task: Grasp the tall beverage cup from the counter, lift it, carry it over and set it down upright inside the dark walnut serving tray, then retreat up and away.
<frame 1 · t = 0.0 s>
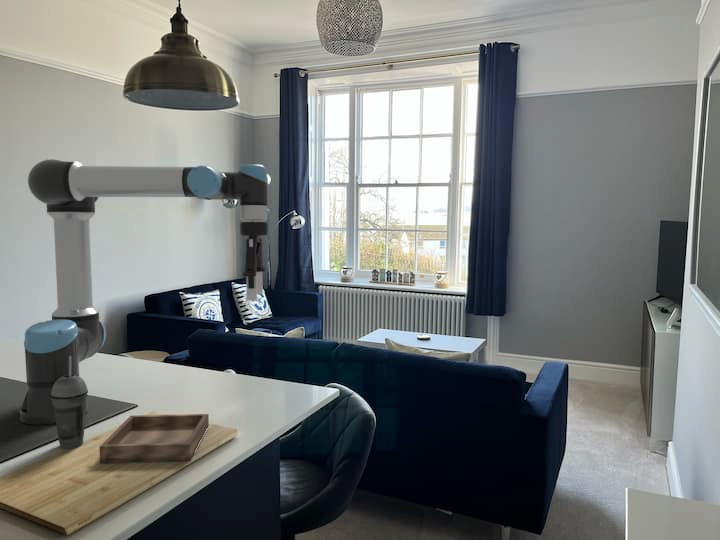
hand: (255, 297, 153), 28 cm above the kitchen island, fingers open, 13 cm apart
beverage cup: (71, 445, 120), on the kitchen island
serving tray: (158, 444, 120), on the kitchen island
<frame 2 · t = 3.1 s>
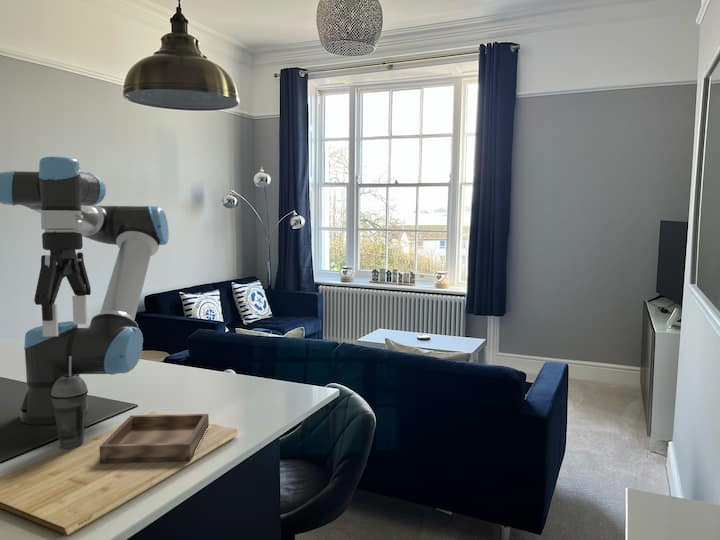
hand: (66, 330, 117), 26 cm above the kitchen island, fingers open, 13 cm apart
nothing on the kitchen island moved.
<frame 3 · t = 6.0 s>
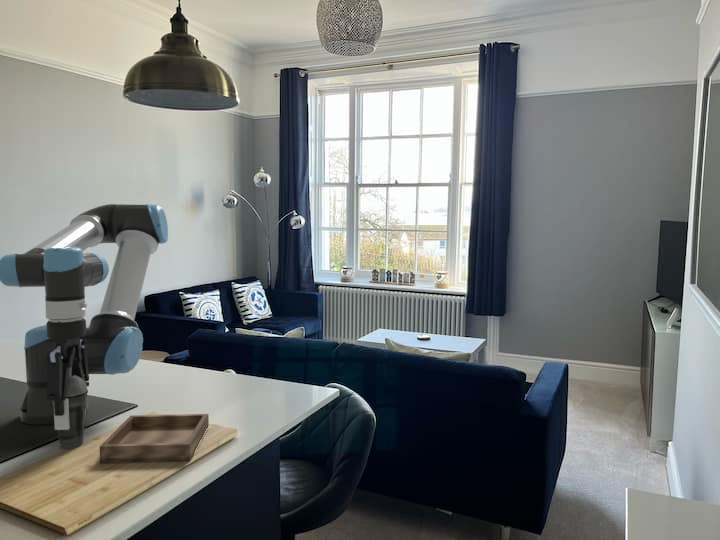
hand: (70, 422, 119), 5 cm above the kitchen island, fingers closed on beverage cup, 7 cm apart
beverage cup: (71, 445, 120), on the kitchen island, touching gripper
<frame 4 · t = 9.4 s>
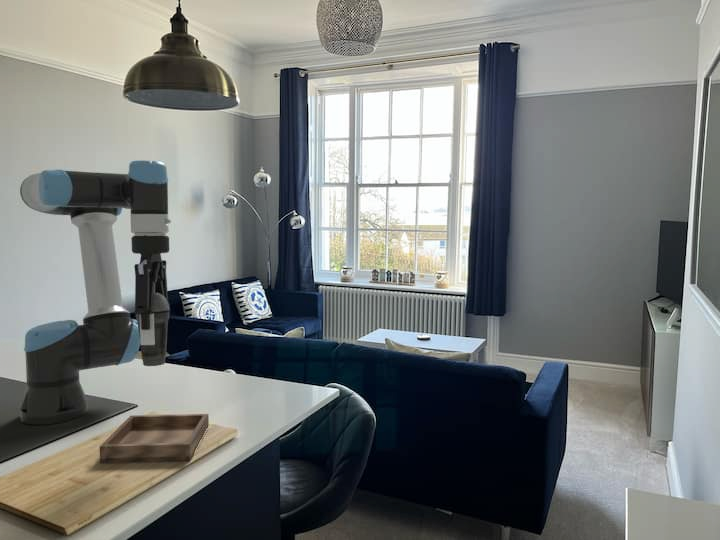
hand: (153, 340, 118), 23 cm above the kitchen island, fingers closed on beverage cup, 7 cm apart
beverage cup: (154, 364, 118), point 18 cm above the kitchen island, touching gripper
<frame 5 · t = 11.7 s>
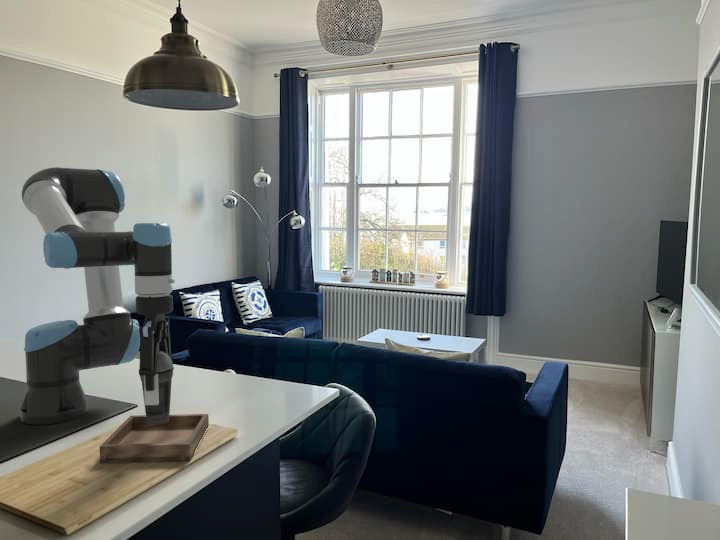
hand: (157, 398, 119), 10 cm above the kitchen island, fingers closed on beverage cup, 7 cm apart
beverage cup: (158, 421, 119), point 5 cm above the kitchen island, touching gripper
when the fingers open (8 cm above the kitchen island, at t = 13.2 s): beverage cup drops 1 cm, resting on serving tray.
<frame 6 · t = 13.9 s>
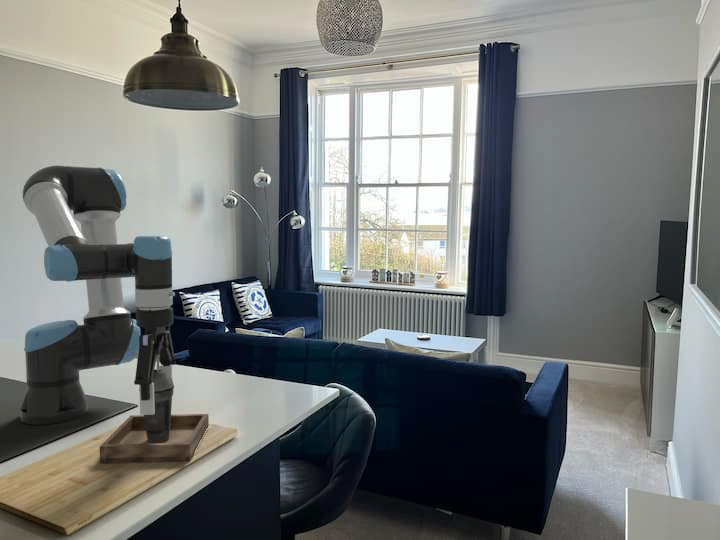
hand: (157, 403, 119), 9 cm above the kitchen island, fingers open, 13 cm apart
beverage cup: (158, 440, 120), point 1 cm above the kitchen island, touching serving tray
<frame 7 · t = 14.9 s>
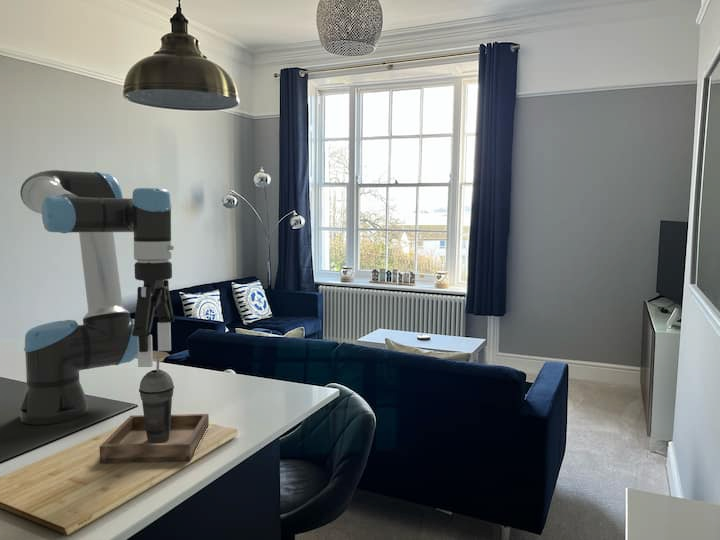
hand: (155, 358, 119), 19 cm above the kitchen island, fingers open, 13 cm apart
nothing on the kitchen island moved.
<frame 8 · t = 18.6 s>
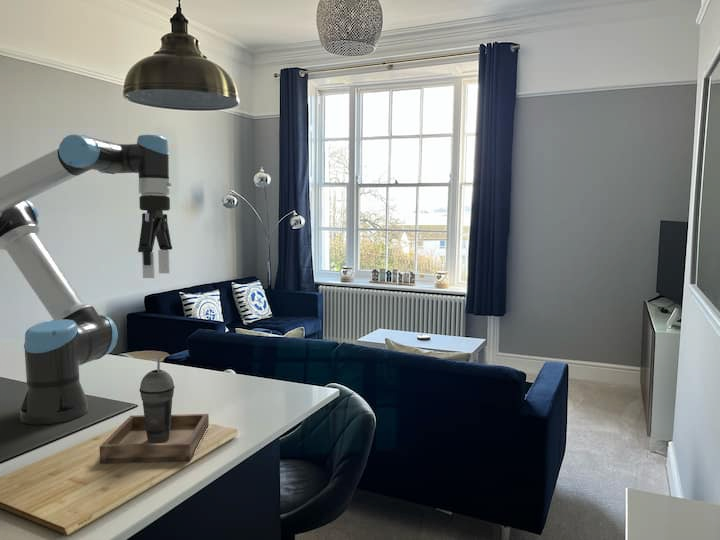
hand: (156, 275, 145), 35 cm above the kitchen island, fingers open, 13 cm apart
nothing on the kitchen island moved.
at the end: beverage cup inside the target area on the serving tray (0.2 cm from its centre), point 0.8 cm above the serving tray's base; beverage cup tilted 0°; the gripper is holding nothing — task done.
